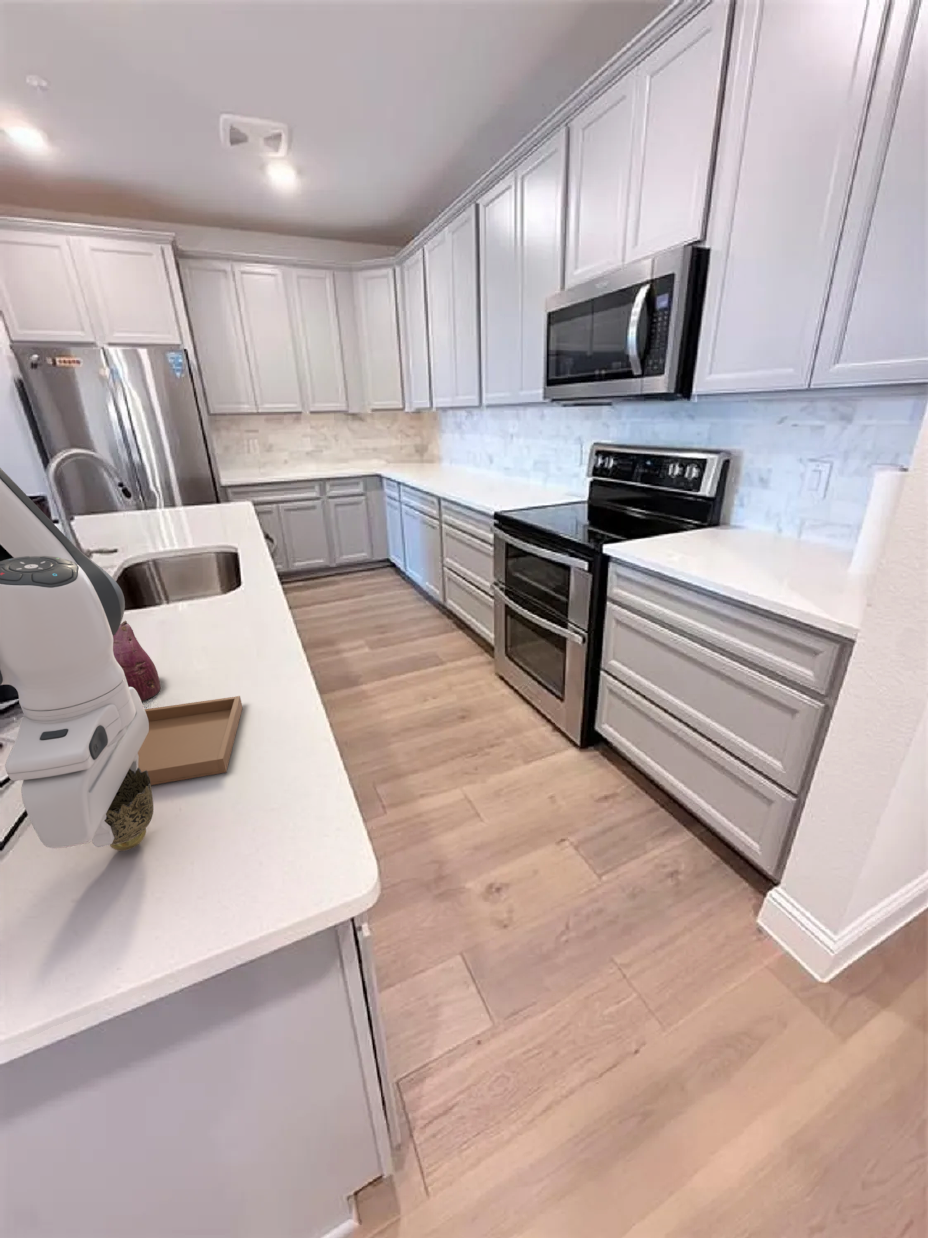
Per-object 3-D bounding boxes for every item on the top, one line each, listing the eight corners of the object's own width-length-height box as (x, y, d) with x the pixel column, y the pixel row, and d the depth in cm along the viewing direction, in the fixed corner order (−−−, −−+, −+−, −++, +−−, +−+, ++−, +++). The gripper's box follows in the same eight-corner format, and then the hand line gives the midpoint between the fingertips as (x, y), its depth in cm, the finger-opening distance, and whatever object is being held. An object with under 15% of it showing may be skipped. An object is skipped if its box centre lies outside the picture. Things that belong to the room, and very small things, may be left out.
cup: (156, 858, 58) (138, 803, 55) (82, 875, 56) (58, 819, 53) (171, 812, 64) (156, 761, 61) (105, 825, 62) (85, 773, 59)
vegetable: (147, 690, 100) (144, 615, 98) (172, 699, 94) (168, 619, 92) (84, 701, 92) (79, 619, 90) (106, 712, 86) (101, 624, 84)
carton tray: (51, 802, 67) (45, 788, 66) (101, 728, 83) (97, 715, 82) (226, 772, 72) (222, 758, 71) (242, 707, 88) (240, 695, 87)
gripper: (88, 670, 61) (120, 762, 67) (-8, 780, 43) (46, 895, 49) (146, 663, 63) (172, 754, 68) (77, 766, 45) (120, 880, 50)
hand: (119, 814), depth 58 cm, fingers closed on cup, 7 cm apart
